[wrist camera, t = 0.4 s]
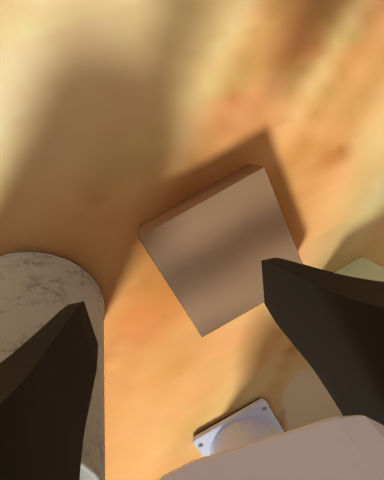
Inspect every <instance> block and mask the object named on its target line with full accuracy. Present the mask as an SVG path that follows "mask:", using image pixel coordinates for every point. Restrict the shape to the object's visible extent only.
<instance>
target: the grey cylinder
mask: <svg viewBox="0 0 384 480" xmlns="http://www.w3.org/2000/svg"><path fill="white" fill-rule="evenodd" d="M82 301H84V303H85V306H86V309H87V312H88V315H89V318H90V321H91V324H92V327H93V330H94V333H95V336H96V339H97V342H98V360H97V370H96V376H95V381H94V386H93V391H92V396H91V401H90V406H89V411H88V416H87V421H86V426H85V432H84V439H83V447H82V458H81V468H80V480H105V419H104V315H105V307H104V299H103V296H102V293H101V290H100V288H99V286H98V285H97V283H96V282H95V281H94V279H93V278H92V277H91V276H90V275H89V274H88V273H87V272H86V271H85V270H83V269H82V268H81V267H80V266H78V265H76V264H74V263H72V262H71V261H69V260H67V259H64V258H61V257H58V256H55V255H51V254H45V253H37V252H20V253H11V254H7V255H3V256H0V363H1V362H2V361H4V360H5V359H6V358H7V357H9V356H10V355H11V354H12V353H13V352H15V351H16V350H17V349H18V348H19V347H20V346H22V345H23V344H24V343H25V342H26V341H27V340H29V339H30V338H31V337H32V336H33V335H34V334H35V333H37V332H38V331H39V330H40V329H41V328H42V327H43V326H44V325H45V324H46V323H47V322H48V321H50V320H51V319H52V318H53V317H54V316H55V315H56V314H57V313H58V312H59V311H60V310H62V309H63V308H64V307H65V306H67V305H69V304H73V303H78V302H82Z"/></svg>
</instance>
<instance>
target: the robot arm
mask: <svg viewBox="0 0 384 480" xmlns="http://www.w3.org/2000/svg"><path fill="white" fill-rule="evenodd" d="M261 264H262V277H263V290H264V303H265V305H266V307H267V308H268V310H269V312H270V314H271V315H272V317H273V319H274V320H275V322H276V323H277V324H278V326H279V327H280V328H281V329H282V331H283V332H284V333H285V335H286V336H287V337H288V338H289V339H290V341H291V342H292V343H293V344H294V346H295V347H296V348H297V349H298V351H299V352H300V353H301V354H302V355H303V357H304V358H305V359H306V360H307V362H308V363H309V364H310V366H311V367H312V368H313V370H314V371H315V372H316V374H317V375H318V377H319V378H320V380H321V381H322V383H323V384H324V386H325V387H326V389H327V390H328V392H329V394H330V395H331V397H332V398H333V400H334V401H335V403H336V405H337V406H338V408H339V409H340V411H341V413H342V414H343V416H342V417H333V418H328V419H325V420H322V421H318V422H315V423H312V424H309V425H306V426H302V427H299V428H296V429H293V430H289V431H286V432H284V431H283V429H282V427H281V426H280V424H279V422H278V421H277V419H276V417H275V416H274V414H273V412H272V411H271V409H270V407H269V405H268V404H267V402H266V400H265V399H259V400H257V401H255V402H254V403H252V404H250V405H248V406H247V407H245V408H243V409H241V410H240V411H238V412H236V413H234V414H233V415H231V416H229V417H227V418H226V419H224V420H222V421H220V422H219V423H217V424H215V425H213V426H212V427H210V428H208V429H206V430H205V431H203V432H201V433H199V434H198V435H196V436H194V438H193V444H194V445H195V447H196V448H197V449H198V450H199V451H200V453H201V454H202V455H203V456H204V457H203V458H200V459H196V460H193V461H191V462H189V463H187V464H185V465H183V466H181V467H179V468H177V469H175V470H173V471H171V472H169V473H168V474H166V475H164V476H162V477H161V479H160V480H384V282H382V281H374V280H368V279H362V278H356V277H351V276H346V275H342V274H337V273H333V272H329V271H325V270H321V269H317V268H314V267H310V266H307V265H303V264H300V263H296V262H293V261H289V260H286V259H281V258H271V259H266V260H262V261H261ZM97 360H98V342H97V339H96V336H95V333H94V330H93V327H92V324H91V321H90V318H89V315H88V312H87V309H86V306H85V303H84V301H82V302H78V303H73V304H69V305H67V306H65V307H64V308H63V309H62V310H60V311H59V312H58V313H57V314H56V315H55V316H54V317H53V318H52V319H51V320H50V321H48V322H47V323H46V324H45V325H44V326H43V327H42V328H41V329H40V330H39V331H38V332H37V333H35V334H34V335H33V336H32V337H31V338H30V339H29V340H27V341H26V342H25V343H24V344H23V345H22V346H20V347H19V348H18V349H17V350H16V351H15V352H13V353H12V354H11V355H10V356H9V357H7V358H6V359H5V360H4V361H2V362H1V363H0V480H80V468H81V458H82V447H83V439H84V432H85V426H86V421H87V416H88V411H89V406H90V401H91V396H92V391H93V386H94V381H95V376H96V370H97Z"/></svg>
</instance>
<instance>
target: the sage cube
mask: <svg viewBox="0 0 384 480" xmlns="http://www.w3.org/2000/svg"><path fill="white" fill-rule="evenodd" d="M334 273H337V274H342V275H346V276H351V277H356V278H362V279H368V280H374V281H382V282H384V267H382V266H380V265H378V264H376V263H374V262H372V261H370V260H368V259H366V258H364V257H360V258H359V259H357V260H355V261H353V262H352V263H350V264H348V265H346V266H345V267H343V268H341V269H339V270H338V271H336V272H334Z"/></svg>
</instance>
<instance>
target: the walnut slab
mask: <svg viewBox="0 0 384 480" xmlns="http://www.w3.org/2000/svg"><path fill="white" fill-rule="evenodd" d="M138 238H139V240H140V241H141V243H142V244H143V246H144V247H145V249H146V250H147V252H148V254H149V255H150V257H151V258H152V260H153V261H154V263H155V265H156V266H157V268H158V269H159V271H160V272H161V274H162V275H163V277H164V279H165V280H166V282H167V283H168V285H169V286H170V288H171V289H172V291H173V293H174V294H175V296H176V297H177V299H178V300H179V302H180V303H181V305H182V307H183V308H184V310H185V311H186V313H187V314H188V316H189V317H190V319H191V321H192V322H193V324H194V325H195V327H196V328H197V330H198V331H199V333H200V335H201V336H202V337H204V336H205V335H207V334H209V333H211V332H212V331H214V330H216V329H218V328H219V327H221V326H223V325H225V324H226V323H228V322H230V321H232V320H233V319H235V318H237V317H239V316H241V315H242V314H244V313H246V312H248V311H249V310H251V309H253V308H255V307H256V306H258V305H260V304H262V303H263V302H264V290H263V277H262V264H261V261H262V260H266V259H271V258H281V259H286V260H289V261H293V262H296V263H300V264H303V263H302V261H301V258H300V256H299V253H298V251H297V248H296V246H295V243H294V241H293V238H292V236H291V233H290V231H289V228H288V226H287V223H286V221H285V218H284V216H283V213H282V211H281V208H280V206H279V203H278V201H277V198H276V196H275V193H274V191H273V188H272V186H271V183H270V181H269V178H268V176H267V173H266V171H265V168H264V167H260V166H255V165H250V164H249V165H247V166H245V167H244V168H242V169H240V170H238V171H236V172H235V173H233V174H231V175H229V176H228V177H226V178H224V179H222V180H220V181H219V182H217V183H215V184H213V185H212V186H210V187H208V188H206V189H204V190H203V191H201V192H199V193H197V194H196V195H194V196H192V197H190V198H188V199H187V200H185V201H183V202H181V203H180V204H178V205H176V206H174V207H172V208H171V209H169V210H167V211H165V212H164V213H162V214H160V215H158V216H156V217H155V218H153V219H151V220H149V221H148V222H146V223H144V224H142V225H140V226H139V227H138Z"/></svg>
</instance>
